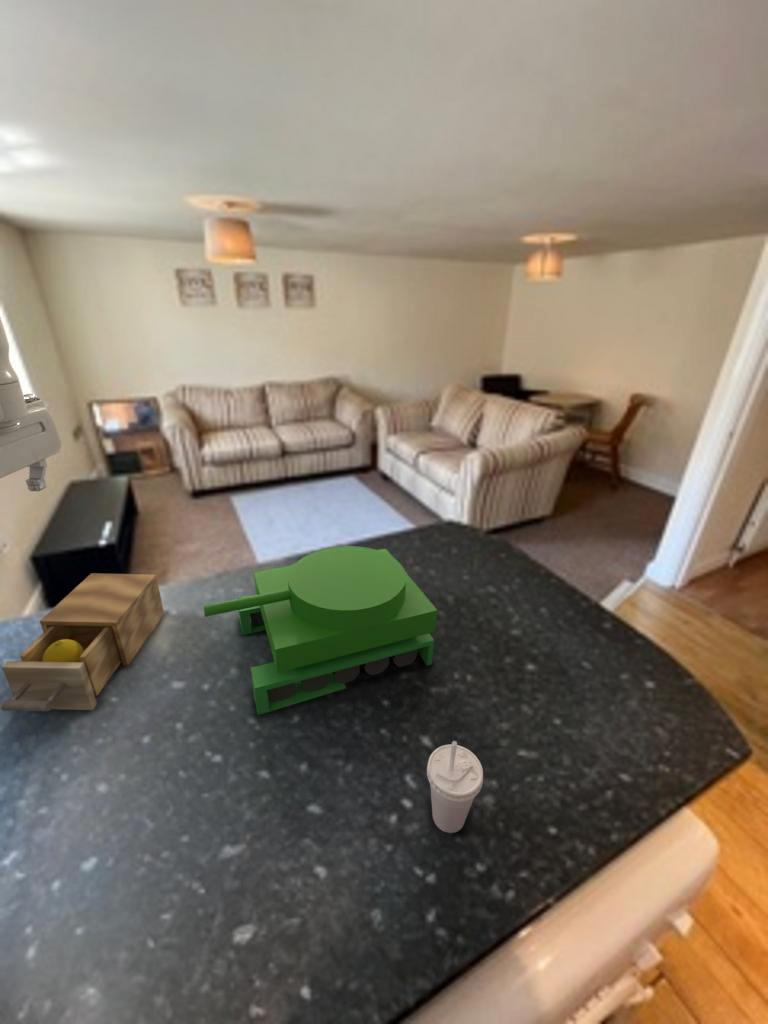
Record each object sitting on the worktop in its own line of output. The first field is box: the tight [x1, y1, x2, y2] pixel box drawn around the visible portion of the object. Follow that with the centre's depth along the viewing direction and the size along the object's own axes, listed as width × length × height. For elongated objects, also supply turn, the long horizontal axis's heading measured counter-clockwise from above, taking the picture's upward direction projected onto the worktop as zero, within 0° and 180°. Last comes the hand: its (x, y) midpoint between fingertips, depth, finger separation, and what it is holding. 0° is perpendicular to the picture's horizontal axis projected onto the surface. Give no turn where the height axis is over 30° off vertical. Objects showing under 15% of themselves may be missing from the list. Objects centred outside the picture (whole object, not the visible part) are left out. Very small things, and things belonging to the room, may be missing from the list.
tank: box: [203, 545, 438, 716], centre depth 78 cm, size 24×35×16 cm
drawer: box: [0, 625, 122, 712], centre depth 69 cm, size 18×11×8 cm, turn 0°
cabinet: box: [39, 572, 165, 667], centre depth 80 cm, size 14×12×10 cm
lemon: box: [42, 639, 85, 662], centre depth 69 cm, size 6×6×8 cm
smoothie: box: [426, 740, 484, 834], centre depth 52 cm, size 6×6×14 cm
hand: (15, 502), depth 64 cm, fingers open, 8 cm apart
